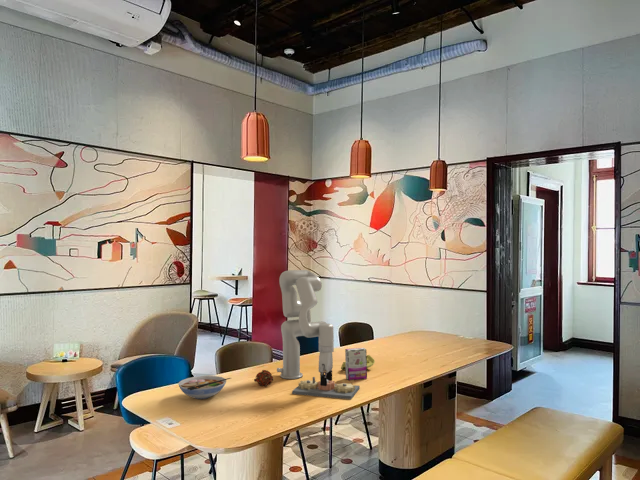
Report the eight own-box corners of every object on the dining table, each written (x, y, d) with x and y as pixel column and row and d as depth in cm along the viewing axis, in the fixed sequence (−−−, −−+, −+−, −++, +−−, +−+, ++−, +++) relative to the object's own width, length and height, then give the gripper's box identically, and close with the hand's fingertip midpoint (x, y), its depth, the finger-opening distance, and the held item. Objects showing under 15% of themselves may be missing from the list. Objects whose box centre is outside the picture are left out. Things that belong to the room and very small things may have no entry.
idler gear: (316, 389, 230) (316, 383, 230) (320, 385, 236) (320, 379, 236) (332, 390, 227) (332, 384, 227) (336, 387, 234) (336, 381, 234)
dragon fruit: (270, 391, 238) (257, 389, 246) (280, 378, 243) (266, 377, 252) (261, 379, 235) (248, 378, 244) (271, 367, 240) (258, 366, 249)
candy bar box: (364, 376, 258) (363, 347, 259) (367, 379, 254) (367, 349, 254) (345, 378, 255) (344, 348, 256) (348, 380, 251) (347, 350, 251)
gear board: (292, 393, 228) (292, 380, 228) (304, 384, 245) (304, 371, 245) (351, 399, 218) (351, 385, 219) (359, 388, 236) (359, 375, 236)
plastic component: (352, 370, 263) (342, 360, 271) (350, 380, 266) (339, 370, 273) (378, 362, 275) (367, 353, 282) (375, 372, 278) (364, 362, 285)
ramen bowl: (209, 386, 240) (209, 371, 241) (237, 395, 226) (237, 378, 226) (166, 398, 221) (166, 381, 221) (195, 408, 207) (195, 390, 207)
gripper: (324, 344, 242) (324, 378, 241) (313, 351, 225) (313, 387, 225) (337, 345, 239) (338, 379, 239) (328, 352, 223) (328, 388, 222)
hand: (326, 383), depth 232 cm, fingers open, 9 cm apart
